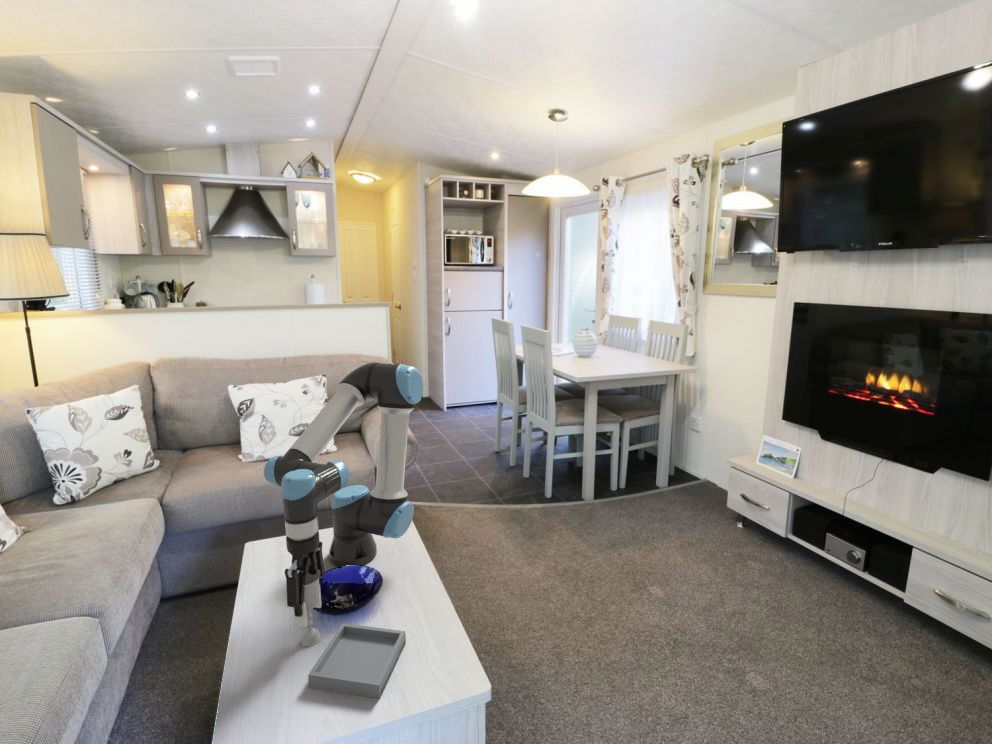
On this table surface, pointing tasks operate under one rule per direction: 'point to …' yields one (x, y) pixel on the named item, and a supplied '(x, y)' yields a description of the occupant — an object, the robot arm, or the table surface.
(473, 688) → the table surface
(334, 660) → the tray
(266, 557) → the table surface
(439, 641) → the table surface
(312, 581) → the chalice
